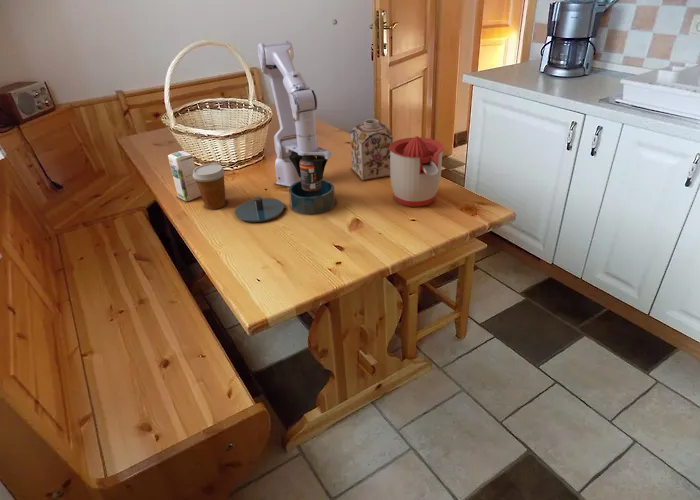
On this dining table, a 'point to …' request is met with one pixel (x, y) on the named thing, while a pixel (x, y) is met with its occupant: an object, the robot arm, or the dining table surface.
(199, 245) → the dining table surface
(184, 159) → the syrup box
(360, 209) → the dining table surface
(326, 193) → the pot
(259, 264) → the dining table surface
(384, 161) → the decorative jar
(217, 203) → the disposable coffee cup
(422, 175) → the citrus juicer
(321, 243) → the dining table surface
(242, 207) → the pot lid
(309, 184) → the supplement bottle
